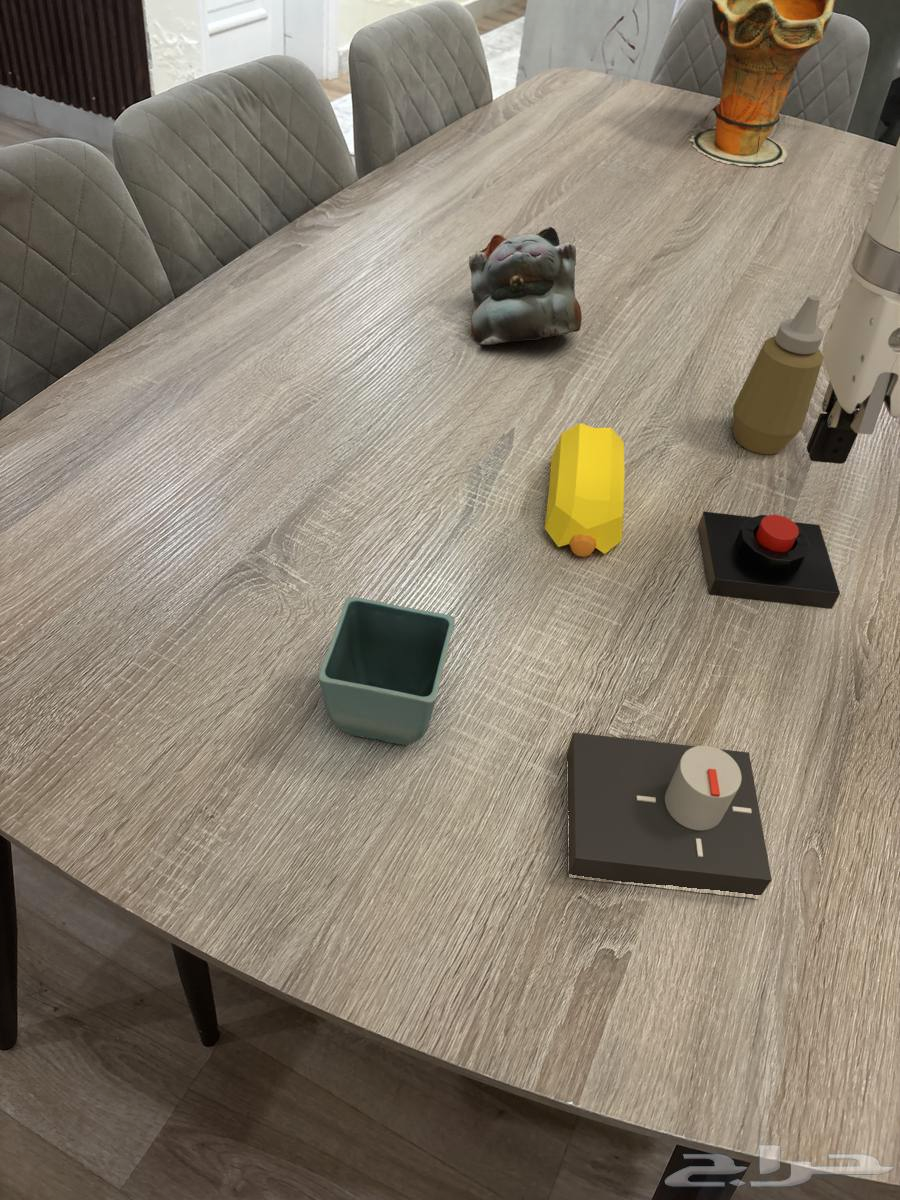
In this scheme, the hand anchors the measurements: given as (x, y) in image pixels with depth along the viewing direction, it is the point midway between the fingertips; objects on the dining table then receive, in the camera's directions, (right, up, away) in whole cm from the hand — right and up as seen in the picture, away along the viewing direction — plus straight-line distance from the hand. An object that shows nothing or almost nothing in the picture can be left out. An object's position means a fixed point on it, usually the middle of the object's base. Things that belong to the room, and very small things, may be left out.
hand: (824, 456), depth 84 cm
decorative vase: (+19, +71, +91) cm, 117 cm away
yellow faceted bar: (-20, -3, +14) cm, 24 cm away
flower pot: (-39, -23, -7) cm, 46 cm away
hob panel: (-18, -30, -12) cm, 37 cm away
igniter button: (-2, -7, +7) cm, 10 cm away
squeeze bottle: (+2, +6, +25) cm, 26 cm away
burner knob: (-15, -28, -14) cm, 35 cm away
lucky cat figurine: (-25, +22, +38) cm, 50 cm away
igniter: (-2, -10, +10) cm, 14 cm away
